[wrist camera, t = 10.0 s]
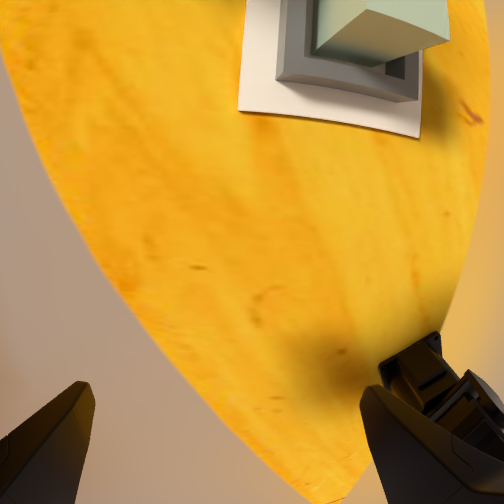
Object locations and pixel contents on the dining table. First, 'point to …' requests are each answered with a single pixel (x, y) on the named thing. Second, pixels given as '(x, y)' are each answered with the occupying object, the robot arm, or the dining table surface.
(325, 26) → the sage block
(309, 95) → the socket
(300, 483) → the dining table surface
